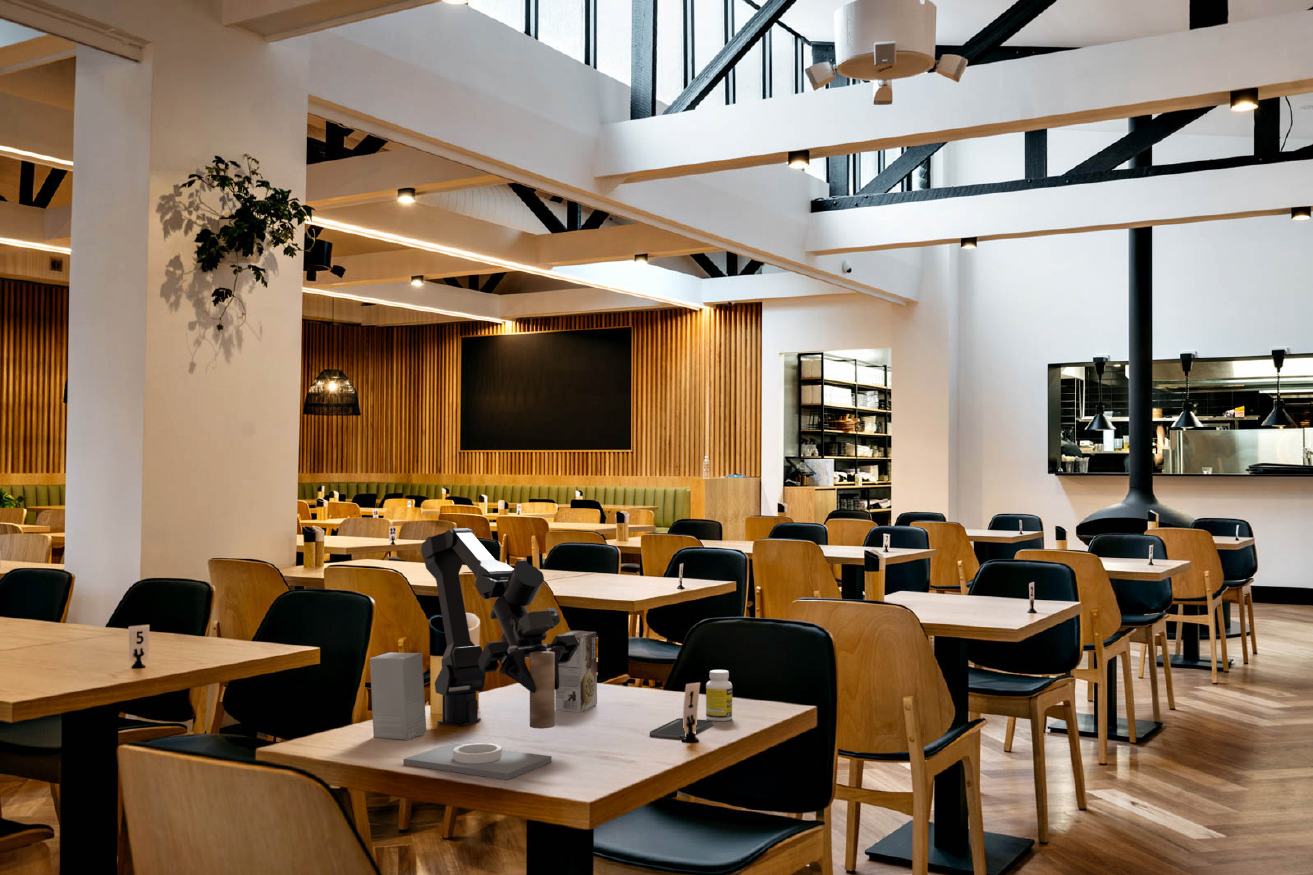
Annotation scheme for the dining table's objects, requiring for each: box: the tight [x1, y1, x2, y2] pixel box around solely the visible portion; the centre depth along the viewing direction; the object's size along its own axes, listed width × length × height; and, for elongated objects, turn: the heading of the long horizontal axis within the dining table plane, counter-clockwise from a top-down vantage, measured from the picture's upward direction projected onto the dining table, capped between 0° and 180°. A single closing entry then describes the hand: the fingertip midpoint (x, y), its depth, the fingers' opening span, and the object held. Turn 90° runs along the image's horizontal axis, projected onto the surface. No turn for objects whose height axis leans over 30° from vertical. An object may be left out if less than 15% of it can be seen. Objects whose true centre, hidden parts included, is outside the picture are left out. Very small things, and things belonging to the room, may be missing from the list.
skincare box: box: [369, 652, 427, 741], centre depth 210 cm, size 8×7×16 cm
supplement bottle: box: [705, 669, 733, 722], centre depth 223 cm, size 5×5×10 cm
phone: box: [649, 717, 714, 741], centre depth 213 cm, size 8×1×15 cm
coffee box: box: [555, 630, 598, 713], centre depth 236 cm, size 9×6×16 cm
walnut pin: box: [529, 651, 556, 730], centre depth 195 cm, size 4×4×13 cm
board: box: [403, 742, 553, 781], centre depth 188 cm, size 22×13×2 cm, turn 62°
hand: (546, 690), depth 194 cm, fingers closed on walnut pin, 4 cm apart
